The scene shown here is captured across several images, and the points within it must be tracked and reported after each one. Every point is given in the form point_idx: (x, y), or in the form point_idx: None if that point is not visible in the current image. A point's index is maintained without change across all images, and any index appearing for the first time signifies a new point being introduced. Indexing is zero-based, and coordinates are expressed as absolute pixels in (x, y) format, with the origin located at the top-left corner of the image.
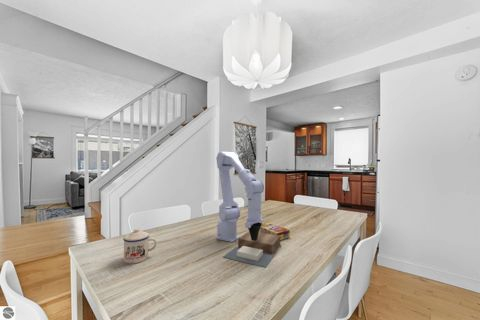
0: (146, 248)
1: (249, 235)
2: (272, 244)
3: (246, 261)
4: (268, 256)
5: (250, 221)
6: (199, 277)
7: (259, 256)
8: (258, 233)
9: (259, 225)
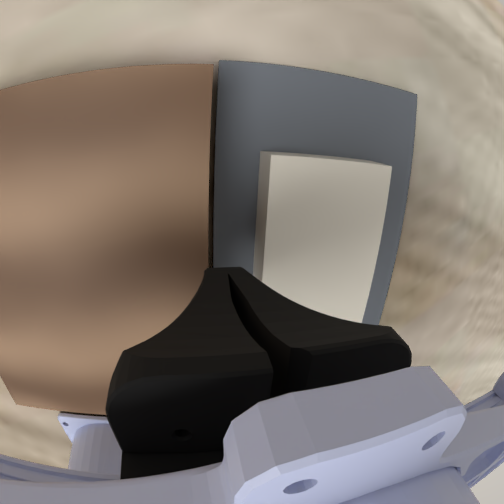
0: None
1: (89, 377)
2: (198, 68)
3: (394, 225)
4: (273, 98)
5: (493, 462)
6: (490, 318)
7: (343, 158)
8: (198, 294)
9: (331, 356)
